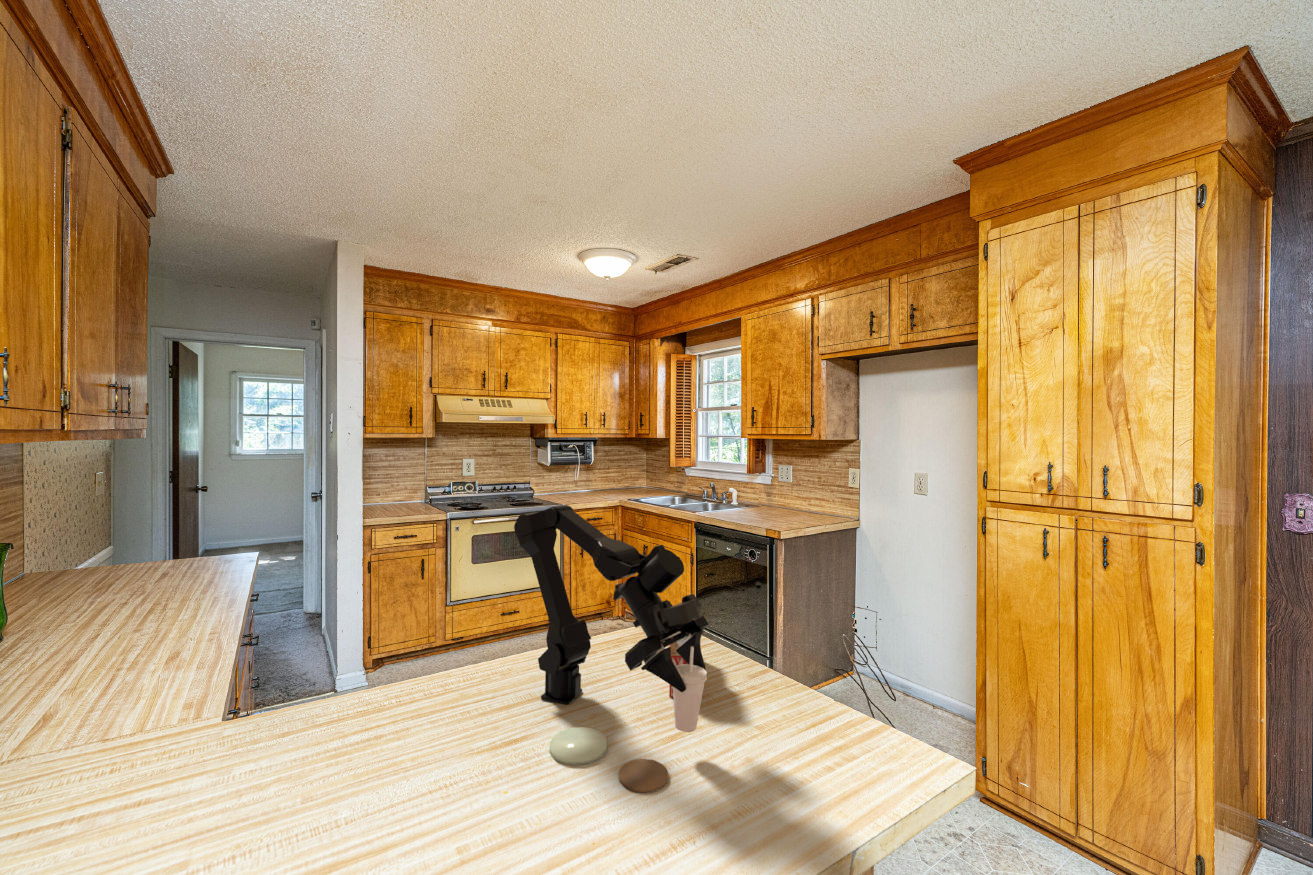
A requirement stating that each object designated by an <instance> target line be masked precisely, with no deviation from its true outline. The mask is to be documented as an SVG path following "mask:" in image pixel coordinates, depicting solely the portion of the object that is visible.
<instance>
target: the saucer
mask: <svg viewBox="0 0 1313 875" xmlns="http://www.w3.org/2000/svg"><path fill="white" fill-rule="evenodd" d="M548 750H549V753H550V756H551V758H553V759H554V760H555V761H557V762H558V763H561V764H565V765H570V766H583V765H587V764H591V763H594V762H597V761H598V760H601V758H603V757H604V755H605V754H606V752H607V750H608V739H607V737H606V735H605V734H604V733H602V732H601V731H599V730H598V729H595V728H591V727H584V726H582V727H581V726H580V727H579V726H578V727H576V726H575V727H571V728H567V729H563V730H561V731H559V732H557V733H556V734H555V735H553V737H552V738H551V739H550V741H549V749H548Z"/></svg>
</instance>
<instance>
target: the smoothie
mask: <svg viewBox="0 0 1313 875" xmlns="http://www.w3.org/2000/svg"><path fill="white" fill-rule="evenodd" d="M693 653H694V647H693V646H691V650H690V664H681V665H676V666H675V667H676V669H677V671H678V672H679V674H680V676H681V678H682V680H683V682H684V684H685V686H686V690H685V691H684V692H680V691H679V690H677V689H676V688H674V687H673V708H674V709H673V711H674V715H673V716H674V727H675V728H676V730H678V731H680V732H683V733H691V732H694V731H695V730H696V729H697V727H698V726H697V725H698V720H699V714H700V708H701V705H702V699H703V698H702V697H703V693H704V687H705V682H706V681H707V680H708V676H707V675H708V671H707V669H706V670H705V669H703V668H702V667H699V666H696V665H693Z"/></svg>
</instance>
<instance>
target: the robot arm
mask: <svg viewBox="0 0 1313 875" xmlns="http://www.w3.org/2000/svg"><path fill="white" fill-rule="evenodd" d="M513 530H514V533H515V535H516V537H517V538H516V539H517V540H518V543H519V545H520V548H522V549H523V550H524V551H525V552H526V553H527V554H528V555H529V556H530V558H531V561H532V564H533V568H534V572H535V576H536V579H537V582H538V586H539V589H540V593H541V597H542V600H543V604H544V607H545V611H546V615H547V619H548V621H549V625H548V630H547V634H546V637H545V639H546V646H547V649H546V650H545V651H544V652H543V653H542V654H541V655H540V656H539V657H538V659H537V662H538V667H539V670H540V671H543V672H545V674H544V675H545V680H544V682H545V683H544V693H543V694H541V695H540V699H541V700H544V701H551V702H555V703H560V704H564V705H570V703H572V702H573V701H574V700H576V698H577V697H578V696H579V695H580V694H581V693H582V692H583V688H581V686H582V673H580V665H581V664H585V663H586V660H587V656H588V655H589V653H590V649H591V640H592V637H591V634H590V633H589V631H588V624H587V622H586V621H585V619H582V620H579V619H578V618H577V617H576V616H575V615H574V614H573V610H572V607H571V604H570V601H569V596H568V594H567V589H566V586H565V583H564V579H563V576H562V573H561V569H560V565H559V563H558V559H557V555H556V553H555V546H556V541H557V538H558V537H557V536H558V533H557V530H559V531H560V533H562V534H563V535H565V536H566V537H567V538H568V539H570V540H571V541H572V542H573V543H574V544H576V546H578V547H580V548H581V549H582V550H583V551H584V552H586V553H587V554H588V555H589V556H590V557H591V558H592V561H593V565H594V567H595V568H596V569H597V571H598V572H599V573H600V574H601V576H602V577H603V578H605V580H607V581H609V582H615V581H617V580H621V579H625V578H627V579H626V580H625V581H624V582H622V583H617V584H615V585H614V591H613V595H612V596H613V598H612V599H613V600H614V601H617V600H620V599H624V601H625V603H626V604H627V606H628V607H629V609H630V611H631V612H632V615H633V616H634V618H635V621H633V623H632V624H633V626H634V627H635V628H639V627H641V629H642V631H643V632H644V635H645V636H646V637H645V638H642V639H641V640H639V641H638V642H637V643H636V644H634V645H633V646H632V647H631V648H630V649H628V650H627V652H626V653H624V662H625V664H626V666H627V667H628V669H629V671H630V672H631V671H633V670H635V669H637V668H639V667H640V669H641V670H642V671H644V670H645V671H647V672H649V673H651V674H652V675H654V676H656V677H658V678H659V679H661V680H662V681H664V682H666V683H667V684H670V685H671V686H673V687H674V688H676V689H677V690H679V691H680V692H684V691H685V690H686V686H685V684H684V682H683V680H682V678H681V676H680V674H679V672H678V671H677V669H676V667H675V665H674V663H673V661H672V660H671V647H669V645H671V644H673V643H675V642H677V643H678V645H679V646H680V647H679V648H678V649H677V650H676V651H677V653H678V654H679V655H680V656H681V657H682V658H683V659H684V660H685V661H686V662H687V663H688V664H690V650H691V646H693V647H694V653H693V665H696V666H699V667H702V668H703V669H705V670H706V671H707V668H706V667H707V666H706V664H705V660H704V657H703V653H702V648H701V647H700V641H701V639H702V635H704V630H705V629H706V628H707V627H708V626H709V625H710V623H709V622H708V621H707V619H706V618H705V616H704V615H703V614H700V613H699V611H701V608H702V603H701V602H700V601H699V599H698V597H696V595H695V594H694V593H690V594H687V595H685V596H684V595H683V596H682V598H681V602H680V603H677V604H674V605H673V604H672V603H671V601H669V600H668V599H666V600H662V599H661V596H659V594H662V593H664V592H665V591H666V590H667V589H668V588H669V587H670V586H671V585H673V583H675V582H676V581H677V579H678V578H680V577H681V576H682V575H683V574H684V572H685V565H684V563H683V561H682V559H681V558H680V556H678V555H677V554H676V553H674V552H673V551H671V550H669V549H666V548H665V546H664V545H663V544H659V545H655V546H653V548H652V549H651V551H650V552H649V553H648V554H647V555H645V554H644V553H640V552H639V550H638V549H637V548H636V547H635V546H633V545H630V544H628V543H627V542H624V541H622V540H619V539H615V538H611V537H609V536H607V535H606V534H604V533H603V532H601V531H600V530H599V529H597V528H596V526H594V525H593V524H591V523H590V522H589V521H587V520H586V519H585V518H583V517H582V516H580V514H578V513H577V512H576V511H574V509H573V507H572V506H570V505H568V504H564V505H563V504H562V505H555V506H554V505H553V506H550V507H549V508H546V509H545V510H542V511H536V512H529V513H523V514H520V515H519V516H517V518H516V520H515V523H514V525H513ZM634 575H636V576H634ZM643 662H644V665H643ZM707 677H708V674H707Z"/></svg>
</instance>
